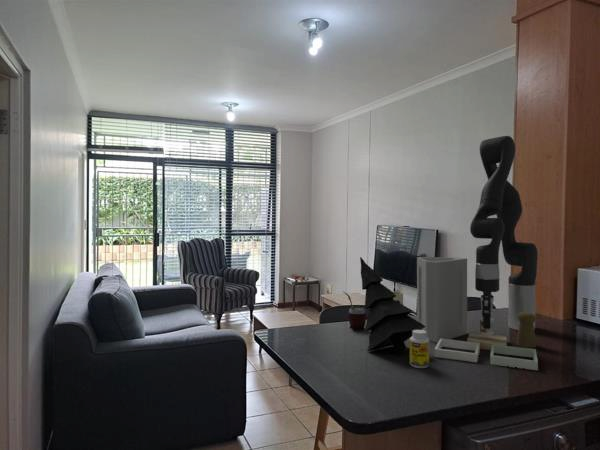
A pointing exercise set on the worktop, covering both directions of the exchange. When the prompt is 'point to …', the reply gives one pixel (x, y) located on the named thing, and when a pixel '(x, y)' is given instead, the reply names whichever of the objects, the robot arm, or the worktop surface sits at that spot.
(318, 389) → the worktop surface
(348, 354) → the worktop surface
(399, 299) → the character mug
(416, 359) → the supplement bottle
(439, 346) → the offwhite tray
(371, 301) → the decorative tree
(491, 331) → the pill bottle
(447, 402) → the worktop surface
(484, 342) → the birch board
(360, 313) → the mate gourd
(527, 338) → the cork
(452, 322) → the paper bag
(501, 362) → the sage tray
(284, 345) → the worktop surface
